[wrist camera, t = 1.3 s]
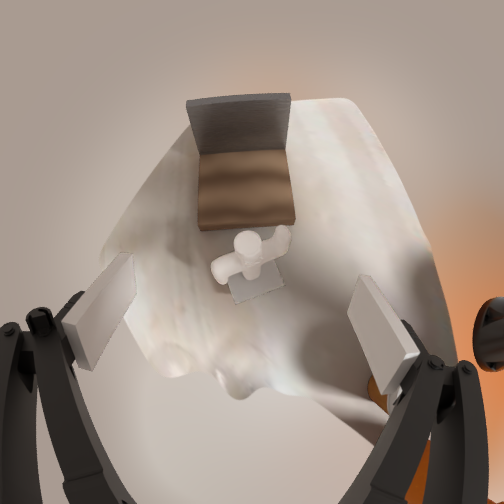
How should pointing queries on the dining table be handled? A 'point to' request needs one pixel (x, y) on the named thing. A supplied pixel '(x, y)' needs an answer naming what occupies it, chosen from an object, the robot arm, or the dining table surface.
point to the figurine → (252, 264)
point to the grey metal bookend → (240, 122)
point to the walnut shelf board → (244, 190)
